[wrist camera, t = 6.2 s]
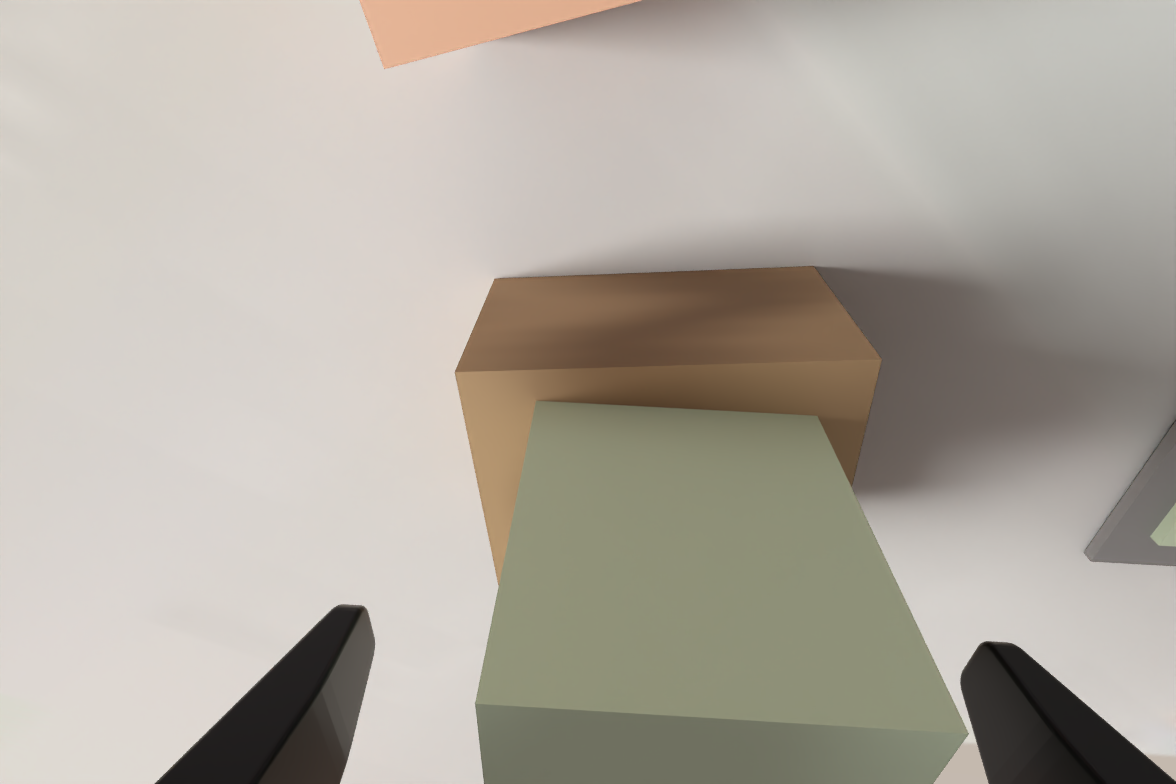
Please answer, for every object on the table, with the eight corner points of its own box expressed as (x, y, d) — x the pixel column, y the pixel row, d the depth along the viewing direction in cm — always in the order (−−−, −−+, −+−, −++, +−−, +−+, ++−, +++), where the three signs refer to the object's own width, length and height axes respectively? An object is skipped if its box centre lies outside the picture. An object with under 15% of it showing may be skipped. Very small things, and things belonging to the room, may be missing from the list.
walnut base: (809, 261, 12) (881, 359, 9) (775, 497, 16) (817, 630, 13) (496, 274, 13) (454, 372, 10) (530, 501, 16) (508, 631, 13)
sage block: (762, 599, 12) (838, 915, 8) (537, 586, 12) (495, 893, 8) (817, 415, 10) (969, 732, 6) (536, 400, 10) (475, 703, 6)
